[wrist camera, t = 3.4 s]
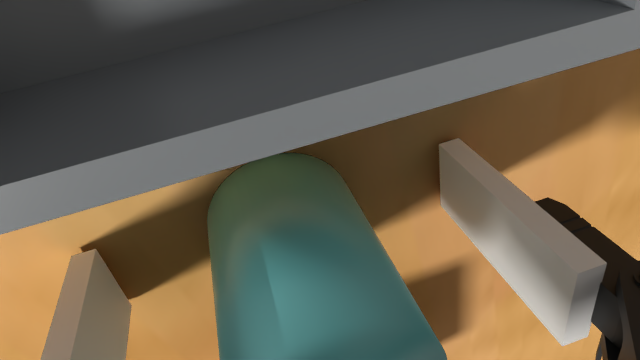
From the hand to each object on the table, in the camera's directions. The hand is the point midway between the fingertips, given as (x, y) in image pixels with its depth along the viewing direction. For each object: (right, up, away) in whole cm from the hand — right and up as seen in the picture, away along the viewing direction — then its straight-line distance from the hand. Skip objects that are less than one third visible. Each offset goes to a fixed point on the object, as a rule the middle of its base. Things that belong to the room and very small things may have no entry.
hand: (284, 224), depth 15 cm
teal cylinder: (0, 0, 0) cm, 0 cm away
